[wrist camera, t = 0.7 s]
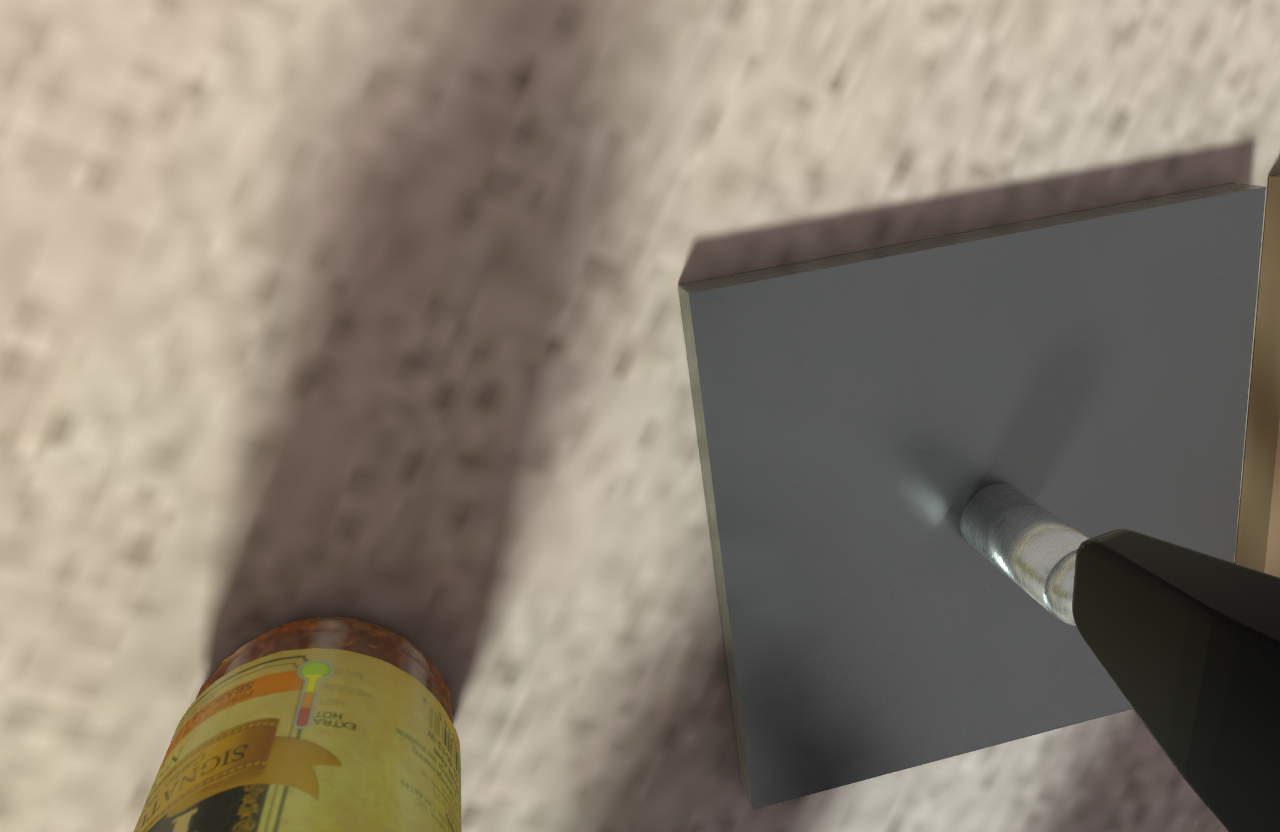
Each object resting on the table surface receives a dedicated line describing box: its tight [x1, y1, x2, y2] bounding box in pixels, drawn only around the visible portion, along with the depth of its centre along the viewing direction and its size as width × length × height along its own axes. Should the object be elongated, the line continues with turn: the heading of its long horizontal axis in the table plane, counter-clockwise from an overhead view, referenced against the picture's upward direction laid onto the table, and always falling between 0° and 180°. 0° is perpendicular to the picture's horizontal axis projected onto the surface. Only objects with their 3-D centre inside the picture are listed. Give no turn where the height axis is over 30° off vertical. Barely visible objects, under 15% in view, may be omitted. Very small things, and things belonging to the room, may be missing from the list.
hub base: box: [678, 183, 1266, 809], centre depth 22 cm, size 14×14×5 cm
